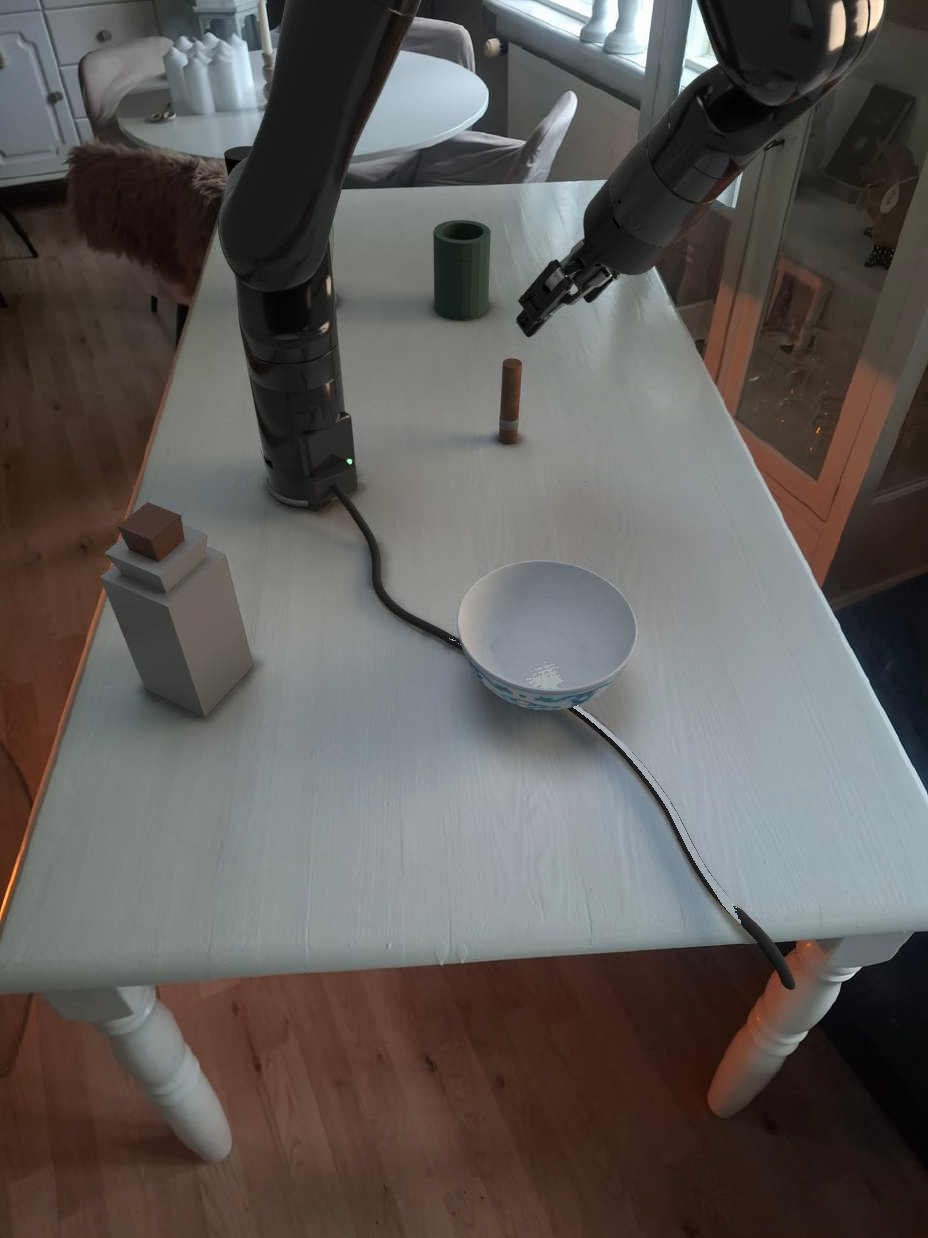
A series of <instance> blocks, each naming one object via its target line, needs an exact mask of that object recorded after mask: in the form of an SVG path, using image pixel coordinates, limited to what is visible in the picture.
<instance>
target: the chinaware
mask: <svg viewBox="0 0 928 1238" xmlns="http://www.w3.org/2000/svg"><path fill="white" fill-rule="evenodd" d="M456 630H457V635H458V638H459V639H460V643H461V646H462V649H463V651H464V652H463V651H462V652H463V654H464V656H465V658H466V660H467V662H468V664H469V666H470V667H471V669H472V671H473V672H474V674H475V675H476V676H477V678H478V679H479V680H480V681H481V682H482V684H484V685H485V686H486V688H488V689H489V690H490V691H492V692H493V693H494V694H495V695H497V696H498V697H500V698H501V699H503V700H505V701H506V702H509V703H511V704H513V705H516V706H519V707H522V708H524V709H529V710H535V711H546V712H547V711H548V712H549V711H559V710H565V709H566V708H571V707H574V706H577V705H579V706H581V705H582V704H585V703H586V702H589V701H590V700H592V699H594V698H595V697H597V696H598V695H600V694H601V693H603V692H604V691H605V690H606V689H608V688H609V687H610V686H611V685H612V684H613V683H614V681H615V680H617V678H618V677H619V676H620V675H621V673H622V672H623V670H624V669H625V667H626V666H627V664H628V662H629V661H630V659H631V657H632V656H633V653H634V651H635V648H636V645H637V640H638V623H637V618H636V615H635V612H634V609H633V608H632V606H631V604H630V602H629V601H628V599H627V597H626V596H625V595H624V594H623V593H622V592H621V590H619V589H618V588H617V587H616V586H615V585H613V583H611V582H610V581H609V580H607V579H606V578H604V577H602V576H601V575H600V574H599V573H596V572H594V571H592V570H590V569H587V568H584V567H582V566H579V565H575V564H572V563H568V562H563V561H559V560H558V561H557V560H550V559H549V560H548V559H547V560H546V559H534V560H533V559H531V560H523V561H522V560H521V561H517V562H513V563H508V564H506V565H502V566H500V567H497V568H495V569H493V570H491V571H489V572H487V573H485V574H483V575H482V576H481V577H480V578H478V579H477V580H476V581H474V583H473V584H472V585H470V587H469V588H468V589H467V590H466V592H464V595H463V597H462V598H461V600H460V603H459V605H458V609H457V614H456ZM544 662H546V663H544ZM550 664H555V665H552V666H549V668H553V667H559V668H555V669H553V670H552V671H551V672H553V671H557V673H556V674H555V675H560V676H559V677H558V678H561V680H564V681H562V682H561V683H559V684H557V686H556V687H558V688H560V689H552V688H548V689H544V688H540V687H541V686H542V685H538V686H537V687H533V685H534V684H535V683H537V682H534V683H533V684H530V683H529V682H530V681H532V680H533V679H531V680H526V679H527V678H536V677H538V676H541V675H543V674H542V673H540V674H539V673H538V672H541V671H543V670H546V669H549V668H544V667H543V666H546V665H550ZM540 667H542V669H541V670H535V669H538V668H540ZM531 671H532V672H531ZM535 673H537V674H536V675H535V676H532V675H533V674H535ZM546 673H549V672H548V671H545V673H544V674H546ZM552 676H554V675H552ZM547 677H550V675H548V676H547ZM540 678H542V677H540ZM566 710H567V709H566Z"/></svg>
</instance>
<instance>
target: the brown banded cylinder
mask: <svg viewBox="0 0 928 1238" xmlns="http://www.w3.org/2000/svg"><path fill="white" fill-rule="evenodd" d="M522 375H523V361H522V360H520V359H518V358H513V357H511V358H510V357H509V358H506V359H504V360H503V361H502V365H501V385H500V407H499V417H498V440H499V442H500V443H502V444H505V445H511V444H514V443H516V442H517V440H518V434H519V433H518V431H519V423H520V404H521V403H520V402H521V389H522V388H521V387H522Z"/></svg>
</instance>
